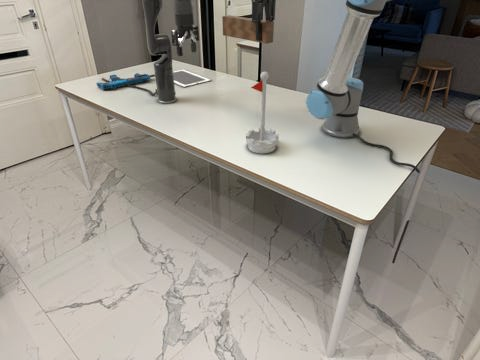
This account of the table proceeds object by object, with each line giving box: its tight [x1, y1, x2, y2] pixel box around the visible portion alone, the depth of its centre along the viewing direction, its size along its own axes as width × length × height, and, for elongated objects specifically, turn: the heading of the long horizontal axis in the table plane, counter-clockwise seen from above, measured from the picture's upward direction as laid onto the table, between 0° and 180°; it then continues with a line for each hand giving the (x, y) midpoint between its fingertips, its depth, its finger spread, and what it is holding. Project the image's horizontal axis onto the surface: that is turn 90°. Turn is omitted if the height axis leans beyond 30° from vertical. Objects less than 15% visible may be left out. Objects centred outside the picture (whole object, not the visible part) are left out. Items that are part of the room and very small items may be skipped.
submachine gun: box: [95, 72, 155, 91], centre depth 209 cm, size 34×4×25 cm
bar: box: [222, 15, 275, 45], centre depth 151 cm, size 27×4×8 cm, turn 45°
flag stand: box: [245, 71, 280, 154], centre depth 128 cm, size 13×13×30 cm
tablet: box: [173, 69, 212, 88], centre depth 216 cm, size 32×20×1 cm, turn 41°
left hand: (187, 53), depth 145 cm, fingers open, 8 cm apart
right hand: (262, 39), depth 147 cm, fingers closed on bar, 4 cm apart
